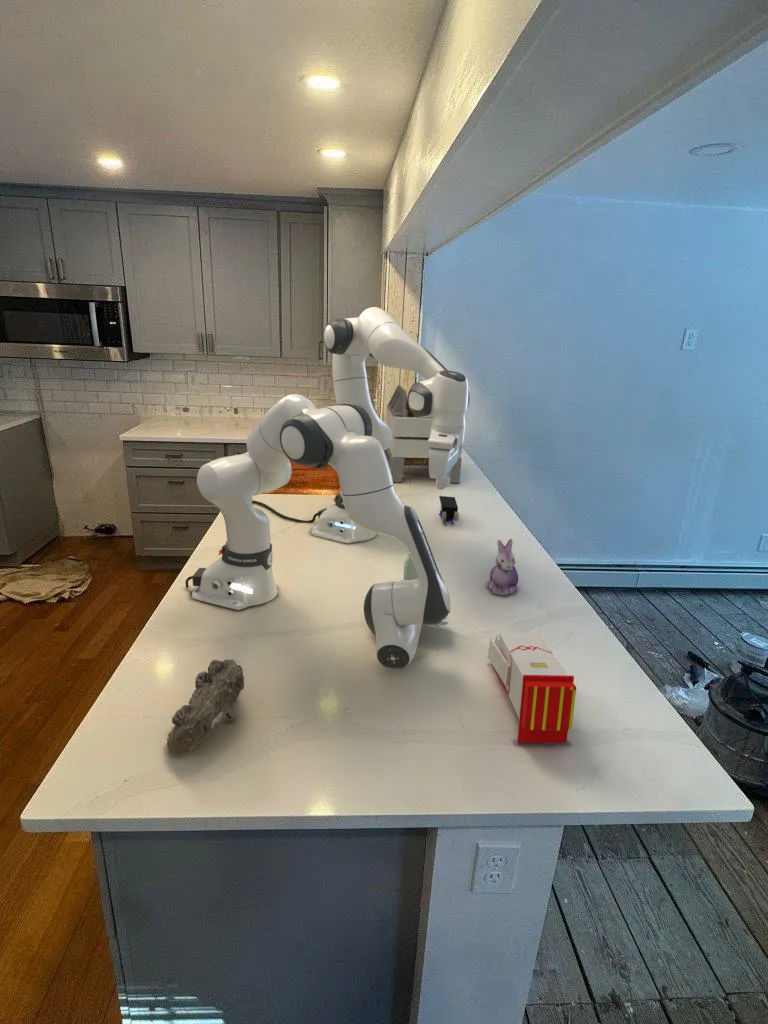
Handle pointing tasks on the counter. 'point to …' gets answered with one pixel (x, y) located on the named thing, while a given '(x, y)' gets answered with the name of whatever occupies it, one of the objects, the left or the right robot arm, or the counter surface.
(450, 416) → the right robot arm
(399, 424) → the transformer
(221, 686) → the fossil
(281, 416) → the left robot arm
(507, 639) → the toy
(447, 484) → the cap
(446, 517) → the figurine character
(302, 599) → the counter surface
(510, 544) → the figurine
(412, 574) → the bottle
